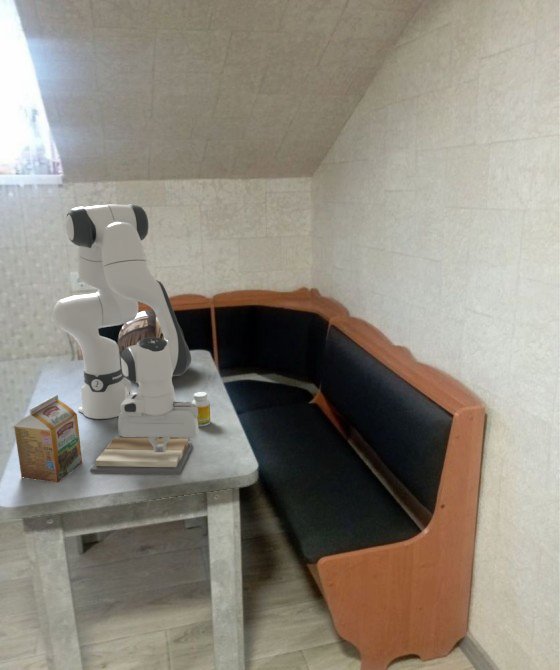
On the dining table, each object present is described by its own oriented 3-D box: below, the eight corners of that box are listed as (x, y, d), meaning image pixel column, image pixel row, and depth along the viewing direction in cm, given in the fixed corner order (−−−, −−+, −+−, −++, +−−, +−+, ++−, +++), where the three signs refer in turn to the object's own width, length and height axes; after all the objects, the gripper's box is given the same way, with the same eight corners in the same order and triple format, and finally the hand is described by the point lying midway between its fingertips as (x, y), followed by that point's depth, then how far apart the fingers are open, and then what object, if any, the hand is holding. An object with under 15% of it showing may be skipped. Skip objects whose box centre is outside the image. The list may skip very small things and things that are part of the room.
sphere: (189, 381, 215) (185, 315, 209) (119, 387, 210) (113, 320, 203) (184, 361, 239) (180, 302, 232) (121, 367, 233) (116, 306, 227)
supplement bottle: (190, 422, 178) (188, 392, 176) (207, 418, 180) (205, 389, 178) (196, 428, 173) (194, 398, 171) (213, 424, 176) (211, 395, 173)
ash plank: (105, 454, 155) (105, 449, 155) (182, 455, 154) (182, 450, 153) (95, 466, 148) (95, 460, 148) (176, 467, 147) (176, 461, 147)
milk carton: (57, 482, 143) (48, 411, 138) (21, 477, 146) (11, 407, 141) (82, 463, 153) (74, 396, 148) (48, 458, 156) (39, 392, 151)
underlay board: (112, 445, 163) (111, 442, 163) (192, 446, 161) (192, 443, 161) (90, 472, 148) (90, 469, 147) (179, 474, 146) (179, 470, 146)
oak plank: (115, 442, 162) (114, 437, 162) (188, 443, 161) (188, 438, 161) (106, 453, 156) (105, 448, 155) (182, 454, 154) (182, 449, 154)
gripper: (199, 397, 148) (202, 446, 152) (122, 396, 150) (126, 445, 153) (194, 407, 142) (197, 458, 146) (113, 405, 143) (118, 456, 147)
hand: (160, 451), depth 150 cm, fingers closed
